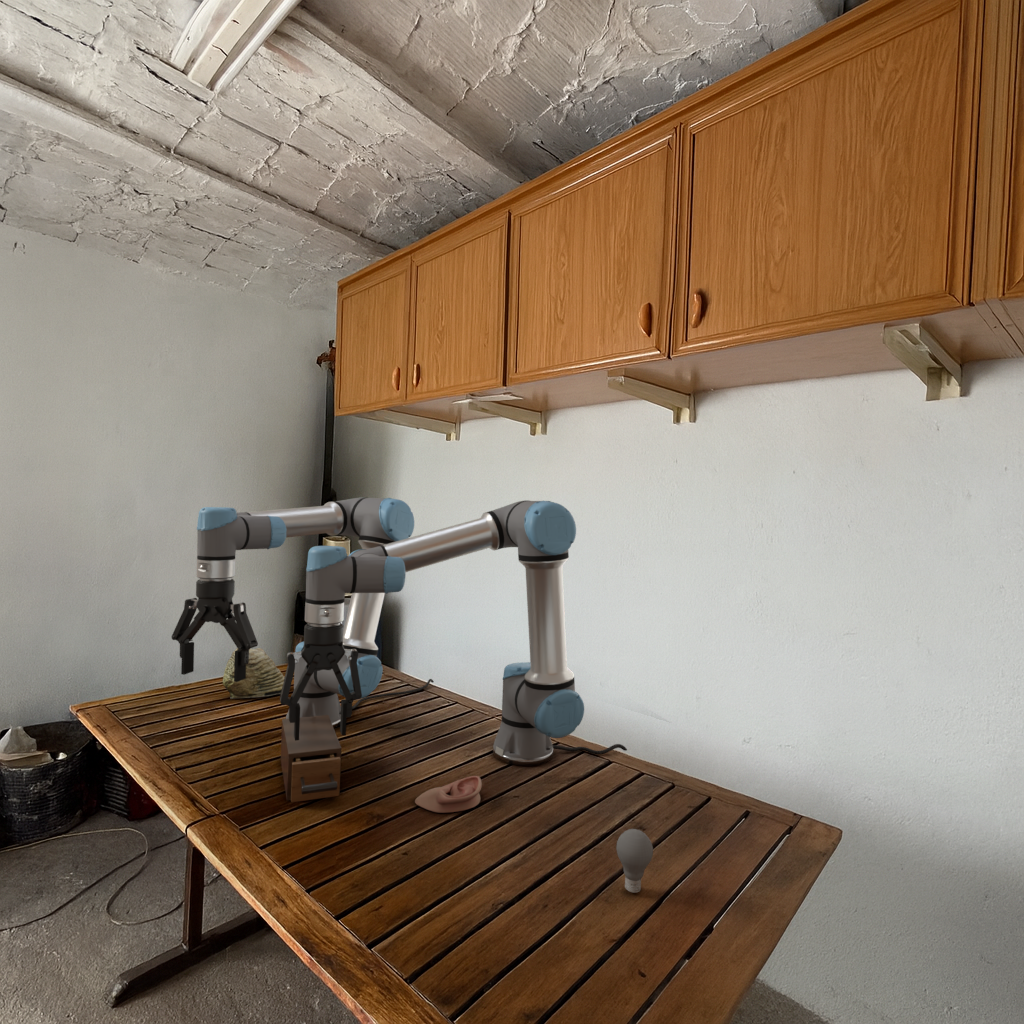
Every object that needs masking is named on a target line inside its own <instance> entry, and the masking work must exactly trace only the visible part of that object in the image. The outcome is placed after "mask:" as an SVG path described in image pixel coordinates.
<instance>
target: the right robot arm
mask: <svg viewBox="0 0 1024 1024" xmlns="http://www.w3.org/2000/svg"><path fill="white" fill-rule="evenodd" d="M576 536H577V525H576V521H575V518H574V516H573V515H572V513H571V512H570V511H569V510H568V509H567V508H566V507H565V506H564V505H562V504H560V503H557V502H554V501H551V500H529V499H528V500H526V499H525V500H519V501H516V502H512V503H510V504H507V505H504V506H501V507H498V508H495V509H493V510H489V511H485V512H483V513H482V515H481V517H479V518H476V519H472V520H469V521H465V522H462V523H458V524H454V525H450V526H447V527H444V528H443V527H442V528H440V529H436V530H433V531H429V532H426V533H421V534H418V535H415V536H410V537H409V538H407V539H403V540H400V541H396V542H392V543H389V544H385V545H382V546H378V547H374V548H371V549H367V550H366V549H362V548H360V549H356V550H354V551H352V552H351V553H349V555H348V554H347V549H346V547H344V546H341V545H340V546H339V545H315V546H312V547H310V549H309V550H308V552H307V562H306V564H307V565H306V569H305V571H306V572H305V573H306V574H305V575H306V576H305V604H304V605H305V606H304V621H305V623H306V624H305V625H304V628H303V631H304V632H303V642H304V646H303V648H302V650H301V651H299V652H294V651H288V652H287V653H286V657H287V658H286V659H287V667H286V669H285V673H284V677H285V678H284V682H283V687H282V691H281V693H280V694H279V702H280V704H281V705H282V706H287V707H288V710H289V721H290V723H294V738H295V741H296V740H299V727H300V705H299V703H298V701H299V699H300V697H301V695H302V693H303V691H304V689H305V687H306V685H307V683H308V681H309V679H310V677H311V676H312V674H313V672H314V670H315V671H320V670H331V669H333V671H334V674H335V676H336V678H337V680H338V682H339V685H340V687H341V689H342V691H343V694H344V696H345V697H344V696H343V697H344V698H343V699H340V706H341V719H340V725H339V732H340V735H341V736H342V737H343V736H347V718H351V717H352V715H353V709H352V706H353V703H354V701H355V700H360V699H359V698H361V697H362V693H361V686H360V680H359V674H358V667H357V659H358V652H357V650H356V649H355V648H353V649H345V648H344V647H343V630H344V626H345V625H344V624H343V622H344V621H345V597H346V594H352V593H385V595H386V594H389V593H400V592H401V591H403V589H404V587H405V583H406V575H407V574H406V573H408V572H409V573H410V572H412V571H415V570H419V569H422V568H425V567H430V566H432V565H436V564H439V563H443V562H447V561H449V560H454V559H456V558H460V557H463V556H466V555H470V554H473V553H477V552H480V551H483V550H487V549H490V550H492V551H498V550H501V549H507V548H517V555H518V556H517V557H518V558H517V559H518V562H519V563H520V564H521V565H522V566H523V567H524V568H525V585H526V606H527V623H528V625H527V627H528V641H529V642H528V643H529V644H528V645H529V661H527V662H525V661H523V662H513V663H509V664H507V665H506V666H505V667H504V669H503V676H502V696H501V697H502V699H501V722H500V725H499V728H498V731H497V732H496V736H495V739H494V742H493V745H492V747H493V748H492V754H493V756H494V757H495V758H496V759H497V760H499V761H501V762H503V763H506V764H509V765H513V766H520V767H522V766H523V767H531V766H532V767H533V766H539V765H544V764H546V763H548V762H549V761H551V760H552V759H553V757H554V750H560V751H565V752H579V751H580V752H581V751H583V752H587V753H589V754H593V755H604V754H608V753H610V752H612V751H613V750H616V749H621V750H623V751H628V749H627V747H626V746H625V745H623V744H621V743H615V744H612V745H611V746H609V747H607V748H605V749H602V750H595V749H591V748H590V747H585V746H575V747H568V746H563V745H557V744H553V742H552V739H562V738H565V737H567V736H569V735H571V734H572V733H574V732H575V731H576V729H577V727H578V726H580V724H581V723H582V721H583V719H584V714H585V702H584V701H583V698H582V697H581V695H580V694H579V693H578V692H577V691H576V687H575V686H576V685H575V673H574V672H573V671H572V670H571V669H570V668H569V667H568V657H567V656H568V653H567V633H566V632H567V631H566V614H565V611H566V610H565V591H564V569H563V568H564V567H563V566H564V565H565V564H566V562H568V560H569V559H570V555H569V550H570V548H571V547H572V544H573V543H574V542H575V540H576ZM344 655H346V658H347V660H349V665H350V671H351V677H352V684H353V690H354V691H353V692H351V693H350V691H349V689H348V687H347V684H346V682H345V680H344V678H343V675H342V673H341V671H340V669H339V666H338V662H339V661H340V660H341V658H342V657H343V656H344ZM301 657H303V659H304V660H305V661H306V663H307V665H306V667H305V669H304V672H303V674H302V676H301V678H300V680H299V682H298V684H297V686H296V688H295V690H294V689H293V692H292V694H291V696H289V695H290V691H291V687H292V683H293V680H294V670H295V664H297V663H298V662H299V659H300V658H301ZM357 698H358V699H357ZM361 699H362V698H361Z"/></svg>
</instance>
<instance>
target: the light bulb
mask: <svg viewBox="0 0 1024 1024" xmlns="http://www.w3.org/2000/svg"><path fill="white" fill-rule="evenodd" d="M615 849H616V854H617V857H618V859H619V861H620V863H621V865H622V867H623V873H624V874H623V875H624V876H625V878H624V888H625V890H627V891H628V892H630V893H634V894H635V893H639V892H640V891H641V889H642V887H641V886H642V879H643V877H644V875H645V871H646V868H647V867H648V866H649V864H650V863H651V861H652V859H653V855H654V847H653V843H652V841H651V838H649V836H648V835H647V834H646V833H645V832H643V831H642V830H641V829H636V828H629V829H627V830H625V831H623V832H622V833H621V834H620V835H619V837H618V839H617V841H616V847H615Z"/></svg>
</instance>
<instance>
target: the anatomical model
mask: <svg viewBox="0 0 1024 1024" xmlns="http://www.w3.org/2000/svg"><path fill="white" fill-rule="evenodd" d="M482 786H483V783H482V779H481V777H480V776H479V775H471V776H467V777H464V778H461V779H458V780H455V781H452V782H450V783H447V784H445V785H442V786H438V787H433V788H430V789H427V790H425V791H424V792H423V793H421V794H419V795H418V796H417V797H416V798H415V800H414V804H416V805H417V806H418V807H420V808H423V809H425V810H427V811H429V812H433V813H440V814H441V813H443V814H445V813H454V812H463V811H466V810H470V809H472V808H473V809H474V808H475V807H476V806H478V805H480V803H481V793H480V791H481V790H482Z"/></svg>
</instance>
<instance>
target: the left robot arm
mask: <svg viewBox="0 0 1024 1024" xmlns="http://www.w3.org/2000/svg"><path fill="white" fill-rule="evenodd" d="M413 513H414V512H412V509H411V507H410V506H409V504H408V503H407V502H405V501H404V500H401V499H397V498H391V497H368V496H362V497H354V498H347V499H342V500H335V501H334V500H333V501H328V502H326V503H324V505H318V506H317V505H316V506H304V507H292V508H291V507H290V508H280V509H268V510H255V511H254V510H253V511H242V512H241V511H240V512H237V510H236V508H234V507H226V506H225V507H224V506H219V507H218V506H205V507H202V508H200V509H199V511H198V517H197V526H196V533H197V535H196V536H197V537H196V538H197V539H196V577H197V578H198V579H197V580H196V582H195V597H192V598H187V599H185V600H184V605H183V611H182V612H181V614H180V617H179V620H178V622H177V623H176V626H175V628H174V630H173V632H172V634H171V640H173V641H177V642H178V644H179V658H180V659H181V666H180V667H181V668H180V669H181V673H180V675H184V676H185V675H188V674H190V673H193V672H194V666H195V642H194V639H193V638H195V636H196V635H197V633H198V632H199V631H200V630H201V628H202V627H203V626H204V625H205V624H206V623H214V624H219V625H220V626H222V627H224V629H225V631H226V632H227V634H228V635H229V637H230V639H231V640H232V642H233V644H234V645H235V646H236V649H237V648H238V650H237V651H235V650H234V651H235V664H234V682H238V681H241V680H243V679H246V665H247V664H248V663H249V649H254V648H256V647H258V646H259V643H258V639H257V637H256V635H255V631H254V629H253V627H252V624H251V622H250V619H249V616H248V613H247V605H246V603H245V602H239V603H234V602H233V598H234V596H235V586H236V581H235V580H234V578H235V576H236V551H242V550H264V549H265V550H270V549H276V548H280V547H282V546H283V545H284V543H285V541H286V539H287V538H295V537H303V536H313V535H321V534H327V536H331V537H334V536H335V537H336V536H347V537H348V536H349V537H356V538H358V540H357V543H358V544H359V545H360V547H361V549H366V550H367V549H371V548H374V547H378V546H382V545H385V544H389V543H392V542H396V541H400V540H403V539H407V538H411V537H412V535H413V533H414V529H415V517H414V514H413ZM385 595H386V594H385V593H351V596H350V600H349V605H348V609H347V613H346V618H345V622H344V625H343V626H344V627H343V647H344V648H345V649H353V648H355V649H356V650H357V652H358V659H357V667H358V674H359V680H360V686H361V693H362V697H361V698H359V699H358V698H357V699H356V700H358V701H356V703H355V704H354V705H352V710H355V709H356V708H357V707H358V705H360V703H362V702H364V701H368V700H372V699H377V698H383V697H389V696H391V697H392V696H398V695H399V696H400V695H406V694H411V693H415V692H419V691H422V690H424V689H427V688H428V687H429V685H430V683H434V681H435V680H433V679H432V678H429V679H428V680H427V682H426V684H425V685H423V686H421V687H418V688H413V689H409V690H404V691H397V692H387V693H381V694H375V695H371V693H372V692H374V691H375V690H376V688H377V687H378V686H379V685H380V682H381V680H382V677H383V673H384V672H383V669H384V668H383V667H384V666H383V664H382V661H381V660H380V659H379V657H378V652H379V647H378V645H377V644H376V642H375V640H376V636H377V630H378V626H379V621H380V617H381V612H382V609H383V608H382V607H383V605H384V599H385ZM197 610H198V612H197ZM196 612H197V614H196ZM303 646H304V641H300V642H299V643H298V644H297V645H296V646H295V650H294V651H295V652H299V651H301V650H302V648H303ZM306 665H307V663H306V661H305V660H304V659H303V657H301V658H300V659H299V662H298V663H297V664H295V670H294V674H293V691H294V690H295V688H296V686H297V684H298V682H299V680H300V678H301V676H302V674H303V672H304V669H305V667H306ZM338 666H339V669H340V671H341V673H342V675H343V678H344V680H345V682H346V684H347V687H348V689H349V691H350V693H351V692H353V691H354V690H353V684H352V677H351V671H350V665H349V660H347V658H346V655H344V656H343V657H342V658H341V660H340V661H339V662H338ZM339 695H340V696H341V697H344V698H345V696H344V694H343V691H342V689H341V687H340V685H339V682H338V680H337V678H336V676H335V674H334V671H333V669H331V670H320V671H315V670H314V672H313V674H312V676H311V677H310V679H309V681H308V683H307V685H306V687H305V689H304V691H303V693H302V695H301V697H300V699H299V701H298V703H299V705H300V718H301V717H312V716H323V715H329V718H330V720H331V723H332V725H333V728H334V729H335V728H337V727H340V719H341V701H340V699H339ZM285 719H289V709H288V711H287V713H286V715H285Z"/></svg>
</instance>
